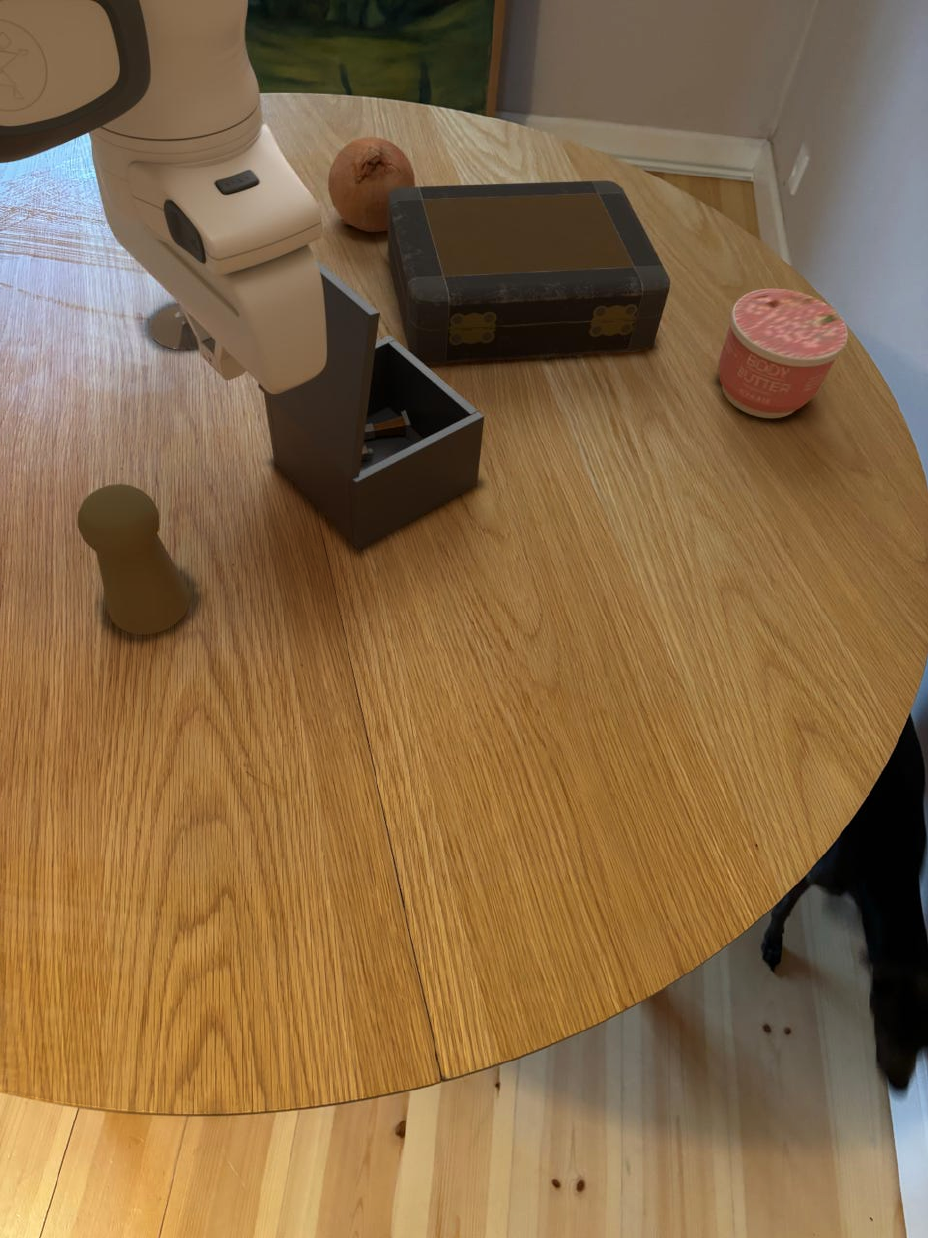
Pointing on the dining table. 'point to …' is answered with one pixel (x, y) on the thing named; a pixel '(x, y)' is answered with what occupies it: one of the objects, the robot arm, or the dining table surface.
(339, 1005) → the dining table surface
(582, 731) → the dining table surface
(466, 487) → the box
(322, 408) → the lid
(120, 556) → the pepper shaker
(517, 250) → the jewelry box
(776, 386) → the container
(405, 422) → the wooden post with brackets
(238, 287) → the robot arm
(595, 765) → the dining table surface
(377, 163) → the onion
